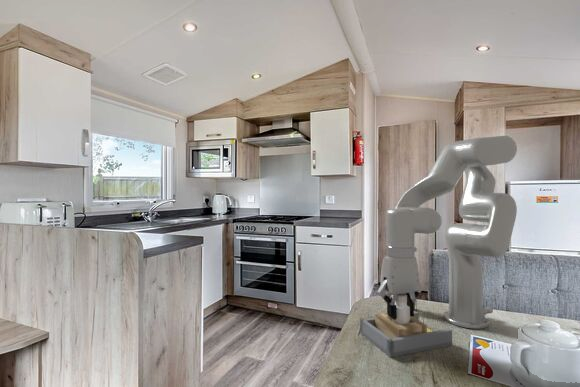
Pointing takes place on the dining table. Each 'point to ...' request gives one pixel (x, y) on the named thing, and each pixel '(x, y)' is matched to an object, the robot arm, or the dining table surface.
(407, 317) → the salt shaker
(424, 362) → the dining table surface
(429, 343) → the tray
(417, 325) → the shaker cabinet door
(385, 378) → the dining table surface
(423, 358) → the dining table surface
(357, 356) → the dining table surface
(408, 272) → the robot arm
